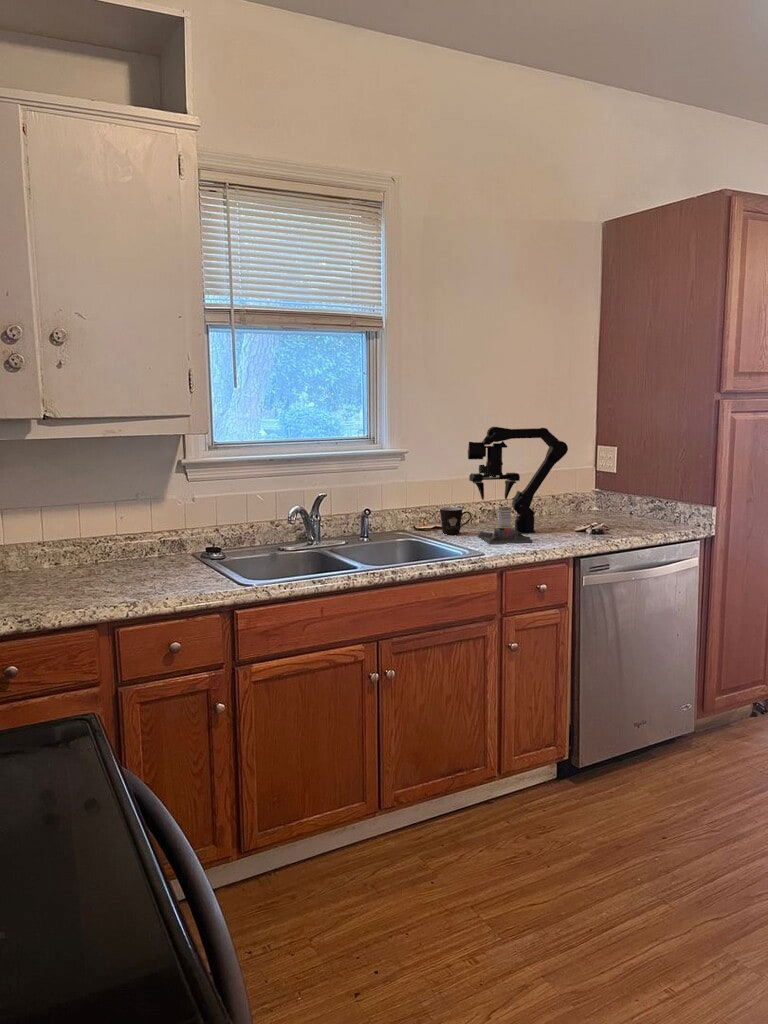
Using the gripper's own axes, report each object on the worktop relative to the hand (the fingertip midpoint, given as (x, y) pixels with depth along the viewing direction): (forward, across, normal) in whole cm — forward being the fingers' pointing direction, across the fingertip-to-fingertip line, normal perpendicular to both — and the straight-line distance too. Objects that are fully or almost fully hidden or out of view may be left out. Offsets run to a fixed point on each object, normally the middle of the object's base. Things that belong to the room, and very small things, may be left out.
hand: (494, 499), depth 303 cm
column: (+8, +1, +17) cm, 19 cm away
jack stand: (+13, +1, +17) cm, 21 cm away
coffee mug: (+13, +16, +2) cm, 21 cm away
